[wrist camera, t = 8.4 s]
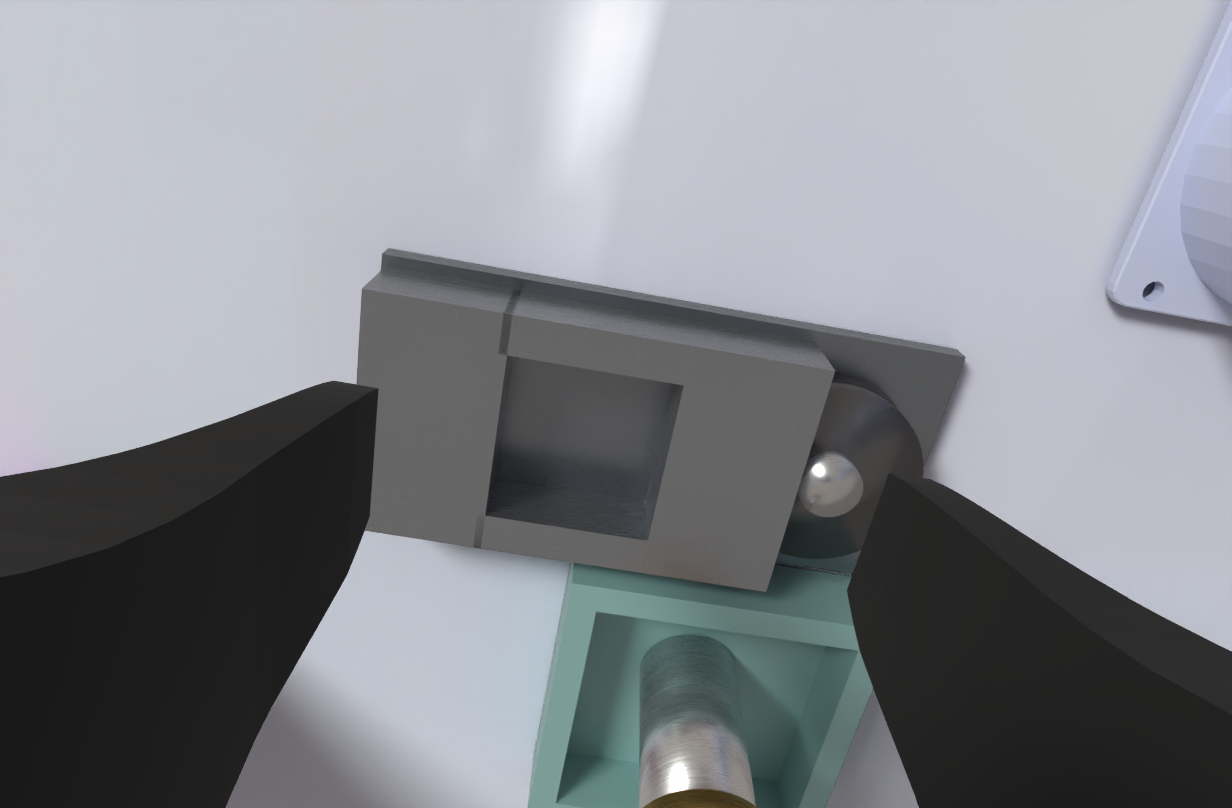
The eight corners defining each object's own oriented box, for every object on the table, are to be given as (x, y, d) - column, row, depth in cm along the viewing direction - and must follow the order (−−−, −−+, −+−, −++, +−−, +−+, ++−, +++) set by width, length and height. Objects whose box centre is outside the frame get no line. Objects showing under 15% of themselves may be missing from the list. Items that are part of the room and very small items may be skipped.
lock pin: (729, 615, 24) (762, 830, 18) (756, 701, 26) (795, 928, 19) (615, 641, 25) (606, 858, 18) (648, 723, 26) (650, 951, 20)
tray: (870, 579, 24) (895, 631, 22) (791, 791, 28) (806, 854, 26) (576, 533, 24) (571, 583, 22) (533, 756, 27) (526, 818, 25)
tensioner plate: (956, 349, 21) (998, 387, 19) (875, 566, 24) (903, 622, 22) (388, 248, 20) (358, 275, 18) (372, 487, 23) (343, 537, 21)
